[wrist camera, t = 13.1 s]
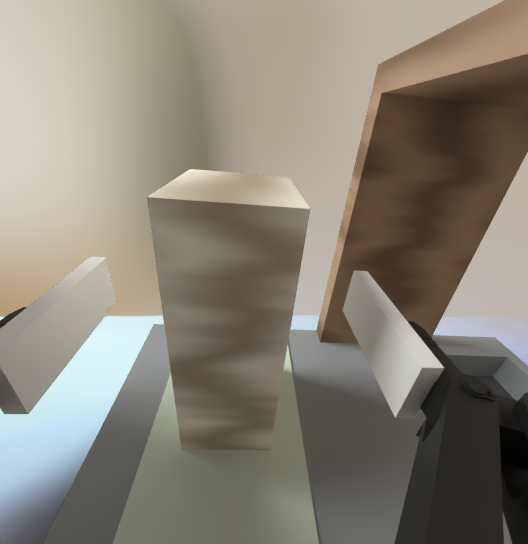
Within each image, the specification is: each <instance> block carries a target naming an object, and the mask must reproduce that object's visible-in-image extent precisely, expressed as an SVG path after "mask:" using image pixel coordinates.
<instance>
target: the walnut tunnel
mask: <svg viewBox="0 0 528 544" xmlns="http://www.w3.org/2000/svg"><path fill="white" fill-rule="evenodd" d="M527 152H528V0H505V1H503V2H501V3H499V4H497V5H495V6H493V7H491V8H489V9H487V10H485V11H483V12H481V13H479V14H477V15H475V16H473V17H471V18H469V19H467V20H465V21H463V22H461V23H459V24H457V25H455V26H453V27H451V28H449V29H447V30H446V31H444V32H442V33H440V34H438V35H436V36H434V37H432V38H430V39H428V40H426V41H424V42H422V43H420V44H418V45H416V46H414V47H412V48H410V49H408V50H406V51H404V52H402V53H400V54H398V55H396V56H394V57H392V58H390V59H388V60H386V61H384V62H382V63H380V64H378V68H377V72H376V76H375V81H374V85H373V90H372V93H371V98H370V102H369V106H368V111H367V115H366V120H365V124H364V129H363V133H362V137H361V141H360V146H359V150H358V154H357V158H356V163H355V167H354V171H353V175H352V180H351V184H350V189H349V193H348V197H347V202H346V206H345V210H344V214H343V219H342V223H341V227H340V232H339V236H338V240H337V245H336V249H335V253H334V258H333V262H332V266H331V270H330V275H329V279H328V283H327V288H326V292H325V297H324V301H323V305H322V310H321V314H320V318H319V322H318V327H317V334H318V337H319V340H320V342H330V343H358V341H357V339H356V337H355V335H354V333H353V331H352V329H351V327H350V325H349V323H348V321H347V319H346V317H345V315H344V313H343V311H342V310H343V307H344V303H345V300H346V296H347V293H348V289H349V285H350V282H351V278H352V275H353V271H354V270H355V271H367V272H368V273H369V274H370V275H371V277H372V278H373V279H374V280H375V282H376V283H377V284H378V285H379V287H380V288H381V289H382V290H383V292H384V293H385V294H386V295H387V297H388V298H389V299H390V300H391V302H392V303H393V304H394V305H395V307H396V308H397V309H398V310H399V312H400V313H401V314H402V316H403V317H404V318H405V319H406V321H414V322H415V323H416V324H418V325H419V326H420V327H422V328H423V329H425V331H426V332H427V333H428V334H429V335H430V337H432V335H433V333H434V331H435V329H436V327H437V325H438V323H439V321H440V320H441V318H442V316H443V314H444V312H445V310H446V308H447V306H448V304H449V302H450V300H451V298H452V296H453V294H454V293H455V291H456V289H457V287H458V285H459V283H460V281H461V279H462V277H463V275H464V273H465V271H466V269H467V267H468V265H469V263H470V262H471V260H472V258H473V256H474V254H475V252H476V250H477V248H478V246H479V244H480V242H481V240H482V239H483V237H484V235H485V233H486V231H487V229H488V227H489V225H490V223H491V221H492V219H493V217H494V215H495V213H496V211H497V210H498V208H499V206H500V204H501V202H502V200H503V198H504V196H505V194H506V192H507V190H508V188H509V186H510V184H511V183H512V181H513V179H514V176H515V175H516V173H517V171H518V169H519V167H520V165H521V163H522V161H523V159H524V158H525V155H526V154H527ZM358 344H359V343H358Z"/></svg>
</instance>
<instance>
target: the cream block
mask: <svg viewBox="0 0 528 544" xmlns="http://www.w3.org/2000/svg"><path fill="white" fill-rule="evenodd" d="M147 200H148V208H149V215H150V222H151V230H152V237H153V245H154V252H155V259H156V266H157V274H158V281H159V289H160V296H161V303H162V310H163V318H164V325H165V333H166V340H167V347H168V355H169V362H170V370H171V377H172V384H173V392H174V399H175V406H176V414H177V421H178V428H179V436H180V443H181V449H199V450H270V447H271V441H272V435H273V429H274V423H275V417H276V411H277V405H278V399H279V393H280V387H281V381H282V375H283V369H284V363H285V357H286V351H287V345H288V339H289V333H290V327H291V321H292V315H293V309H294V303H295V297H296V291H297V285H298V279H299V273H300V267H301V260H302V255H303V249H304V243H305V237H306V231H307V225H308V219H309V213H310V208H309V206H308V205H307V203H306V202H305V200H304V199H303V197H302V196H301V195H300V193H299V192H298V190H297V189H296V187H295V186H294V184H293V183H292V181H291V180H290V178H289V177H281V176H270V175H257V174H244V173H232V172H219V171H207V170H193V169H190V170H188V171H187V172H185V173H184V174H182V175H181V176H179V177H177V178H176V179H174V180H173V181H171V182H170V183H168V184H167V185H165V186H164V187H162V188H161V189H159V190H157V191H156V192H154V193H153V194H151V195H150V196H148V197H147Z"/></svg>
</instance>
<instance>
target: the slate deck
mask: <svg viewBox="0 0 528 544" xmlns="http://www.w3.org/2000/svg"><path fill="white" fill-rule="evenodd" d="M431 338H432V340H434V341H435V342H436V344H437V345H438V347H440V348H441V349H442V351H443V352H444V353H445V354H446V355H447V357H448V358H449V359H450V360H451V361H452V362H453V364H454V365H455V366H456V367H457V368H458V369H459V371H460V372H461V373H462V374H467V375H469V376H472V377H475V378H477V379H478V380H480V381H482V382H483V383H485V384H486V385H487V386H488V387H490V388H491V389H492V391H493V392H494V393H495V394H496V395H500V396H504V397H507V398H511V399H514V400H519V399H520V398H521V397H522V396H523V395H524V393H527V392H528V366H527V365H526V364H525V363H523V362H522V361H521V360H520V359H519V358H518V357H517V356H515V355H514V354H513V353H512V352H511V351H510V350H509V349H507V348H506V347H505V346H504V345H503V344H502V343H501V342H499V341H498V340H497V339H496V338H491V337H465V336H440V335H432V337H431ZM425 419H426V416H425V415H424V413H423V411H422V410H421V408H420V410H419V412H418V413H417V415H416V417H415V418H395V417H394V414H393V412H392V410H391V408H390V406H389V404H388V402H387V400H386V398H385V396H384V394H383V392H382V390H381V388H380V386H379V384H378V382H377V380H376V378H375V376H374V374H373V372H372V370H371V368H370V366H369V364H368V361H367V359H366V357H365V355H364V353H363V351H362V349H361V347H360V345H359V344H358V343H330V342H320V340H319V337H318V334H317V331H312V330H290V333H289V339H288V345H287V351H286V357H285V363H284V369H283V375H282V381H281V387H280V393H279V399H278V405H277V411H276V417H275V423H274V429H273V435H272V441H271V447H270V450H199V449H181V443H180V436H179V428H178V421H177V414H176V406H175V399H174V392H173V384H172V377H171V370H170V362H169V355H168V347H167V340H166V333H165V325H159V324H154V325H153V327H152V329H151V331H150V333H149V335H148V337H147V339H146V341H145V343H144V345H143V347H142V349H141V351H140V353H139V354H138V356H137V358H136V360H135V362H134V364H133V366H132V368H131V370H130V372H129V374H128V376H127V378H126V380H125V382H124V384H123V386H122V388H121V390H120V392H119V394H118V396H117V398H116V400H115V402H114V403H113V405H112V407H111V409H110V411H109V413H108V415H107V417H106V419H105V421H104V423H103V425H102V427H101V429H100V431H99V433H98V435H97V437H96V439H95V441H94V443H93V445H92V447H91V449H90V451H89V453H88V454H87V456H86V458H85V460H84V462H83V464H82V466H81V468H80V470H79V472H78V474H77V476H76V478H75V480H74V482H73V484H72V486H71V488H70V490H69V492H68V494H67V496H66V498H65V500H64V502H63V503H62V505H61V507H60V509H59V511H58V513H57V515H56V517H55V519H54V521H53V523H52V525H51V527H50V529H49V531H48V533H47V535H46V537H45V539H44V541H43V543H42V544H394V543H395V539H396V535H397V531H398V526H399V522H400V518H401V514H402V510H403V505H404V501H405V497H406V493H407V489H408V484H409V480H410V476H411V472H412V468H413V463H414V459H415V455H416V451H417V447H418V442H419V438H420V436H419V437H417V436H416V434H417V432H418V431H419V429H420V427H421V426H422V424H423V423H424V421H425ZM503 531H504V544H512V541H511V537H510V534H509V530H508V527H507V524H506V520H505V517H504V513H503Z"/></svg>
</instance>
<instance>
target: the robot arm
mask: <svg viewBox="0 0 528 544" xmlns="http://www.w3.org/2000/svg"><path fill="white" fill-rule="evenodd" d="M115 303H116V297H115V293H114V288H113V284H112V280H111V276H110V272H109V267H108V264H107V259H106V257H90V258H88V259H87V260H86V261H85V262H83V263H82V264H81V265H80V266H78V267H77V268H76V269H75V270H73V271H72V272H71V273H70V274H68V275H67V276H66V277H65V278H63V279H62V280H61V281H60V282H58V283H57V284H56V285H55V286H53V287H52V288H51V289H49V290H48V291H47V292H46V293H45V294H43V295H42V296H41V297H39V298H38V299H37V300H36V301H34V303H32V304H31V305H30V306H28V307H23V308H21V309H19V310H17V311H15V312H13V313H11V314H9V315H7V316H6V317H5V318H3V319H2V320H1V321H0V408H1V410H2V411H3V413H4V414H29V413H30V411H31V410H32V409H33V407H34V406H35V405H36V404H37V402H38V401H39V400H40V398H41V397H42V396H43V395H44V393H45V392H46V391H47V390H48V388H49V387H50V386H51V384H52V383H53V382H54V381H55V379H56V378H57V377H58V375H59V374H60V373H61V372H62V370H63V369H64V368H65V367H66V365H67V364H68V363H69V361H70V360H71V359H72V358H73V356H74V355H75V354H76V352H77V351H78V350H79V349H80V347H81V346H82V345H83V344H84V342H85V341H86V340H87V338H88V337H89V336H90V335H91V333H92V332H93V331H94V329H95V328H96V327H97V326H98V324H99V323H100V322H101V321H102V319H103V318H104V317H105V315H106V314H107V313H108V311H109V310H110V309H111V308H112V306H113V305H114V304H115ZM342 311H343V313H344V315H345V317H346V319H347V321H348V323H349V325H350V327H351V329H352V331H353V333H354V335H355V337H356V339H357V341H358V343H359V345H360V347H361V349H362V351H363V353H364V355H365V357H366V359H367V361H368V364H369V366H370V368H371V370H372V372H373V374H374V376H375V378H376V380H377V382H378V384H379V386H380V388H381V390H382V392H383V394H384V396H385V398H386V400H387V402H388V404H389V406H390V408H391V410H392V412H393V414H394V417H395V418H415V417H416V415H417V413H418V412H419V410H420V408H421V410H422V411H423V413H424V415H425V416H426V419H425V421H424V423H423V424H422V426H421V427H420V429H419V431H418V432H417V434H416V436H417V437H419V436H420V438H419V442H418V447H417V451H416V455H415V459H414V463H413V468H412V472H411V476H410V480H409V484H408V489H407V493H406V497H405V501H404V505H403V510H402V514H401V518H400V522H399V526H398V531H397V535H396V539H395V543H394V544H504V531H503V513H504V517H505V520H506V524H507V527H508V530H509V534H510V537H511V541H512V544H528V392H527V393H524V395H523V396H522V397H521V398H520V399H519V400H514V399H511V398H507V397H504V396H500V395H496V394H495V393H494V392H493V391H492V389H491V388H490V387H488V386H487V385H486V384H485V383H483V382H482V381H480V380H478V379H477V378H475V377H472V376H469V375H467V374H462V373H461V372H460V371H459V369H458V368H457V367H456V366H455V365H454V364H453V362H452V361H451V360H450V359H449V358H448V357H447V355H446V354H445V353H444V352H443V351H442V349H441V348H440V347H438V345H437V344H436V342H435V341H434V340H432V338H431V337H430V335H429V334H428V333H427V332H426V331H425V329H423V328H422V327H420V326H419V325H418V324H416V323H415V322H414V321H406V319H405V318H404V317H403V316H402V314H401V313H400V312H399V310H398V309H397V308H396V307H395V305H394V304H393V303H392V302H391V300H390V299H389V298H388V297H387V295H386V294H385V293H384V292H383V290H382V289H381V288H380V287H379V285H378V284H377V283H376V282H375V280H374V279H373V278H372V277H371V275H370V274H369V273H368V272H367V271H355V270H354V271H353V275H352V278H351V282H350V285H349V289H348V293H347V296H346V300H345V303H344V307H343V310H342Z"/></svg>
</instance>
